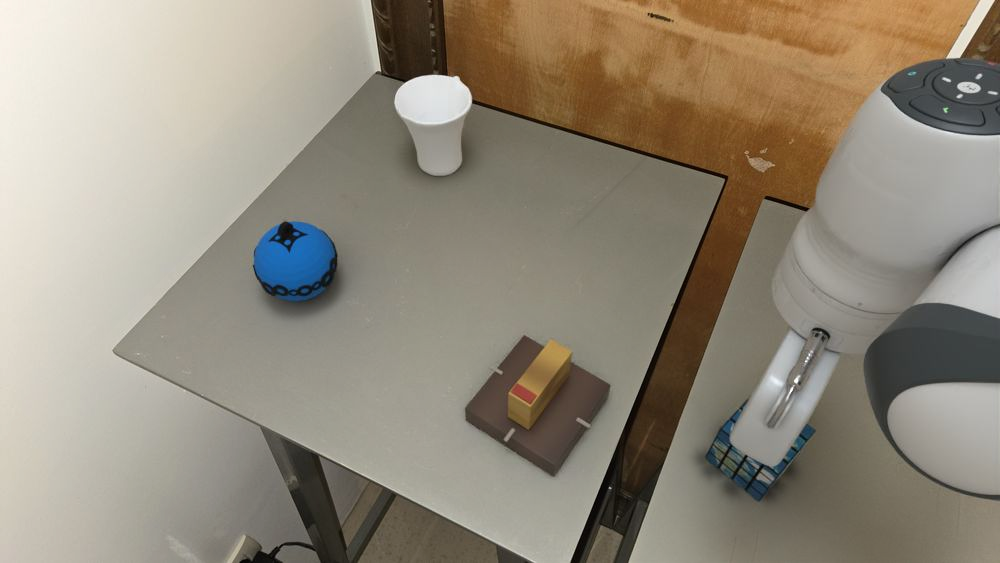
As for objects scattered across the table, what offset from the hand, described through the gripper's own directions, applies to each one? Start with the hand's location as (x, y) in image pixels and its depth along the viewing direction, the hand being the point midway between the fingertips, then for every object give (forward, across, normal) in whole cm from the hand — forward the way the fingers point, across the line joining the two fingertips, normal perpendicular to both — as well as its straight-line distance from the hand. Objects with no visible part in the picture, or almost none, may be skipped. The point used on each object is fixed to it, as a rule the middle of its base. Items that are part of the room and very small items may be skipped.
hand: (782, 388), depth 60 cm
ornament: (+13, -9, +47) cm, 50 cm away
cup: (+13, +15, +47) cm, 51 cm away
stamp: (+10, -7, +18) cm, 22 cm away
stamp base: (+13, -7, +18) cm, 23 cm away
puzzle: (+13, 0, -1) cm, 13 cm away
